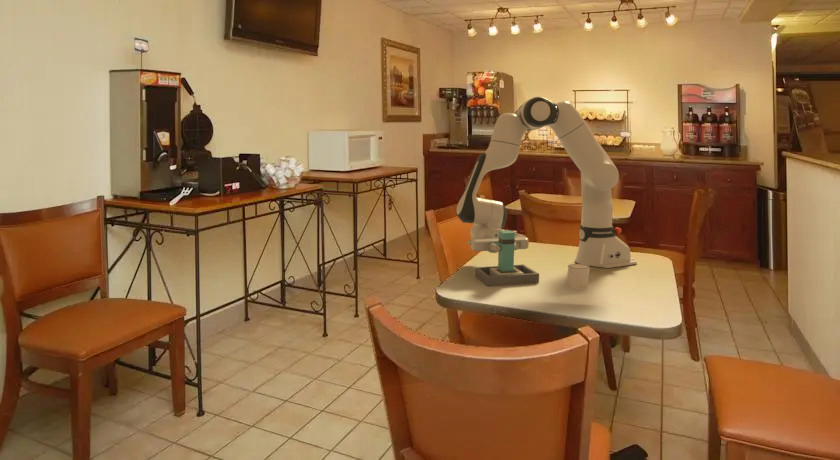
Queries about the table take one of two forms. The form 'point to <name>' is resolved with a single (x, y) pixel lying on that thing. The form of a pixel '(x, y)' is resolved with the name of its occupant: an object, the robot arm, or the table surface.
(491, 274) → the grey tray
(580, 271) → the beige cylinder
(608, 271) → the table surface
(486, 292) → the table surface
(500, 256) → the plug
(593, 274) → the table surface
